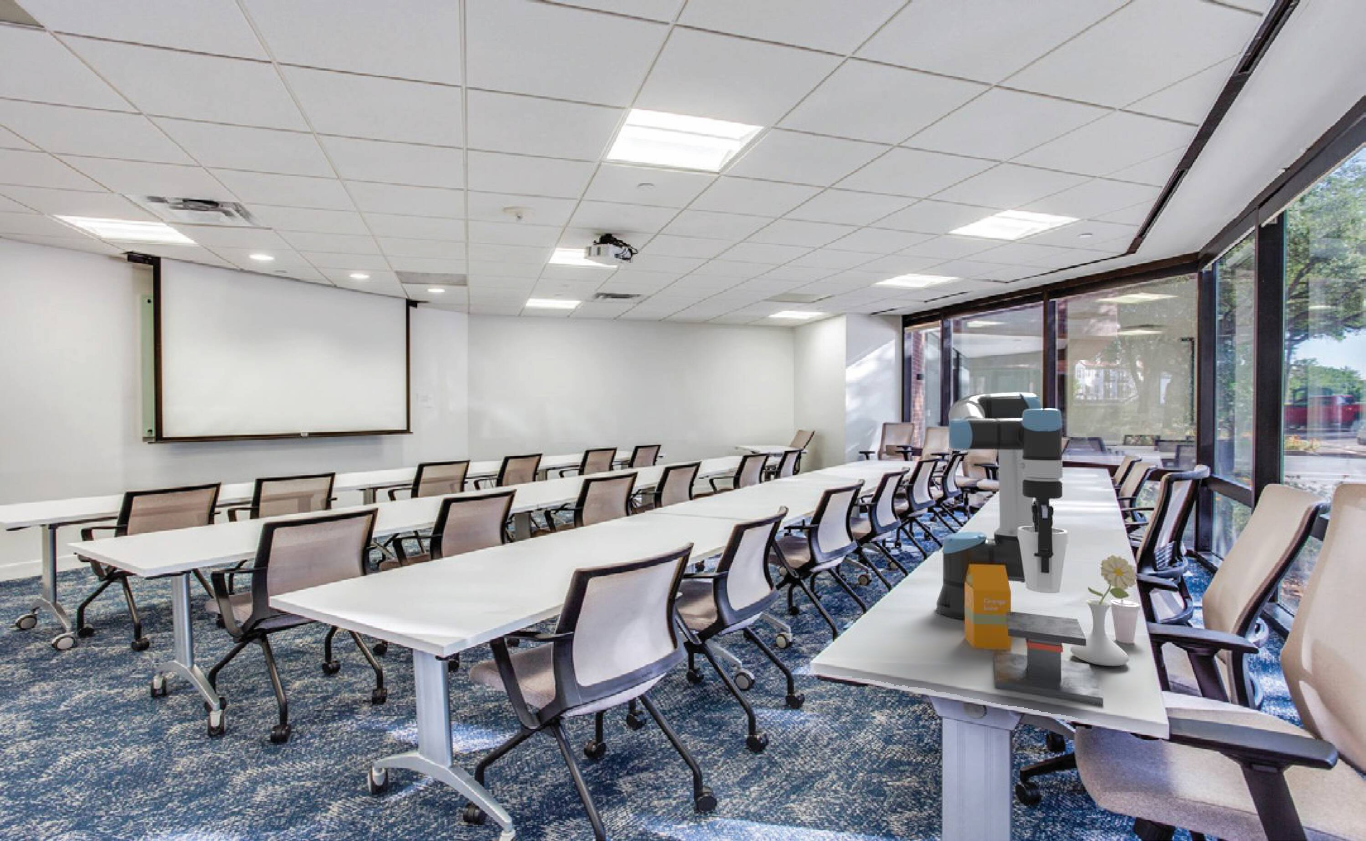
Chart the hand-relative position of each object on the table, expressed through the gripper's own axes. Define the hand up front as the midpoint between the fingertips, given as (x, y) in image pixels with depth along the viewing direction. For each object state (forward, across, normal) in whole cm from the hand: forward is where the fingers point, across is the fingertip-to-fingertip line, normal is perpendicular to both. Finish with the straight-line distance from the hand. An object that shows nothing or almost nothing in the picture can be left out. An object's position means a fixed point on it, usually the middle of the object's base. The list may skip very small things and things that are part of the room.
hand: (1042, 582), depth 135 cm
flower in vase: (+21, -17, +13) cm, 31 cm away
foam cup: (+2, 0, 0) cm, 2 cm away
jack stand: (+21, 0, 0) cm, 21 cm away
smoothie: (+21, -36, +21) cm, 47 cm away
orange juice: (+21, -19, -11) cm, 31 cm away
